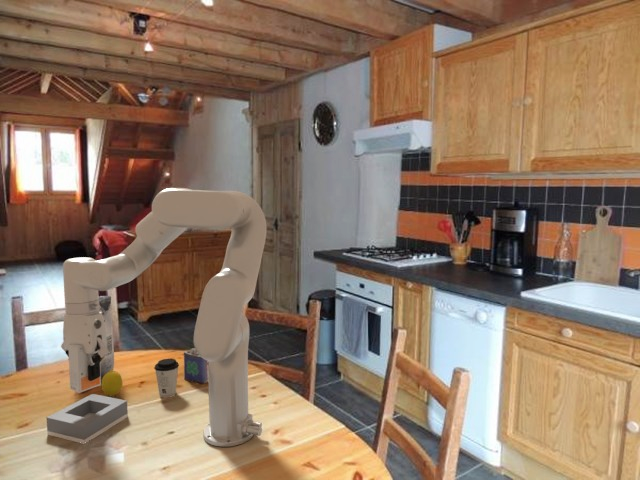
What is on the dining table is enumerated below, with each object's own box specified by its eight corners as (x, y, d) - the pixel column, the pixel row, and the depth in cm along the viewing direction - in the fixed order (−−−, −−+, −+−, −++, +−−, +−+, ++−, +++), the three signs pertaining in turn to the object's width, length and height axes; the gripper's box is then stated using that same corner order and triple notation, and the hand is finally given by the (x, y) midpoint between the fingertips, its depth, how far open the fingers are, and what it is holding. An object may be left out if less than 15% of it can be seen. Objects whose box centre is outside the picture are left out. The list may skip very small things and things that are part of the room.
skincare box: (79, 393, 113) (77, 346, 112) (69, 389, 115) (67, 343, 114) (102, 385, 118) (100, 340, 117) (92, 381, 120) (90, 337, 119)
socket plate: (127, 416, 122) (127, 400, 122) (84, 443, 109) (83, 426, 109) (93, 409, 126) (92, 393, 126) (47, 434, 113) (46, 417, 113)
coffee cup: (164, 401, 131) (163, 368, 130) (150, 395, 135) (149, 362, 134) (184, 393, 136) (183, 360, 135) (170, 387, 141) (169, 355, 140)
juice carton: (89, 368, 156) (85, 290, 153) (118, 369, 154) (114, 291, 151) (71, 378, 147) (66, 296, 144) (102, 380, 145) (97, 297, 143)
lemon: (115, 401, 131) (113, 374, 130) (98, 400, 132) (96, 373, 131) (126, 393, 136) (125, 367, 135) (110, 391, 137) (109, 366, 136)
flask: (209, 382, 144) (208, 349, 143) (203, 385, 142) (202, 352, 141) (188, 376, 149) (187, 344, 148) (181, 379, 146) (180, 347, 145)
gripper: (120, 306, 115) (123, 376, 117) (69, 300, 121) (73, 367, 123) (96, 314, 108) (100, 388, 110) (43, 307, 114) (48, 377, 116)
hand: (85, 376), depth 116 cm, fingers closed on skincare box, 4 cm apart
